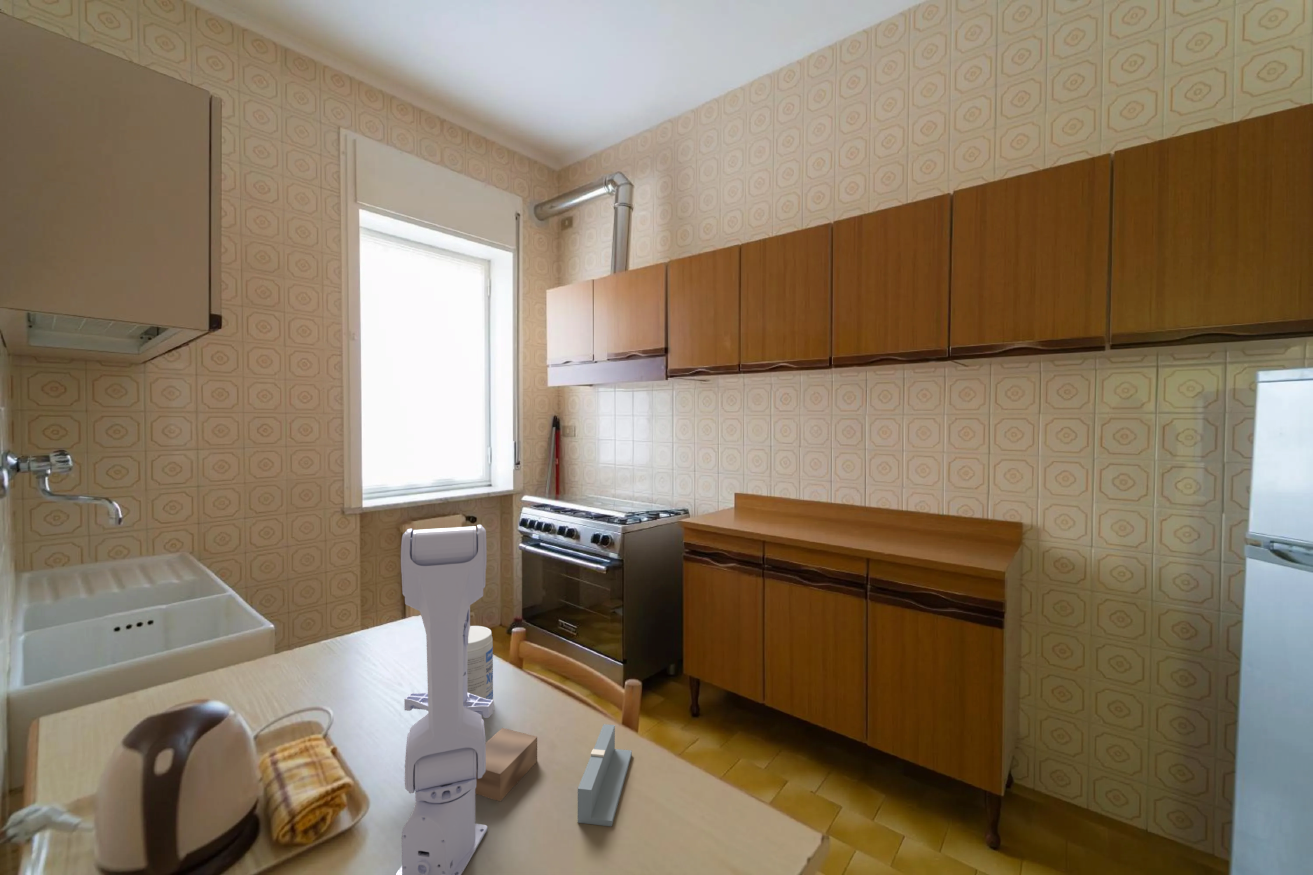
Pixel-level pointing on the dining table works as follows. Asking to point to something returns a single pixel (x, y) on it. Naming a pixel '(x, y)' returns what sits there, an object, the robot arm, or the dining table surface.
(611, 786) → the board
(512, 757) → the walnut block
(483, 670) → the supplement tub
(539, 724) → the dining table surface
